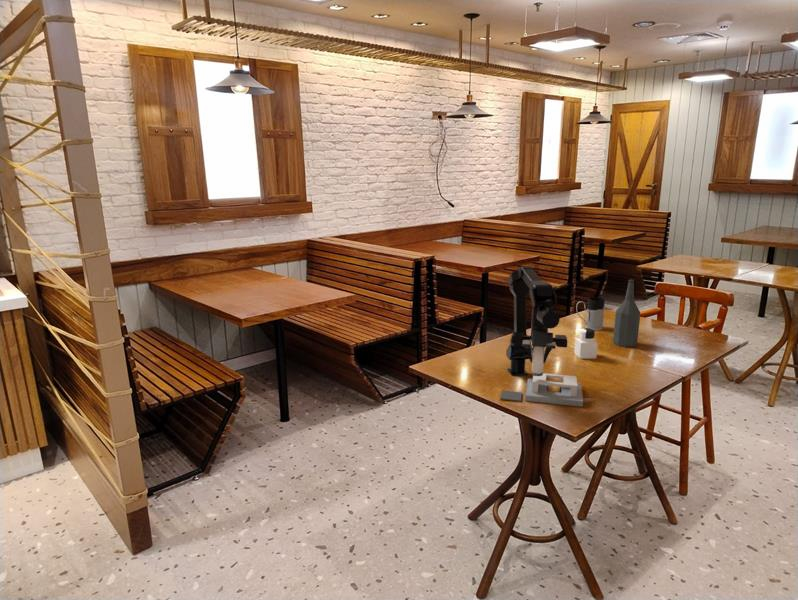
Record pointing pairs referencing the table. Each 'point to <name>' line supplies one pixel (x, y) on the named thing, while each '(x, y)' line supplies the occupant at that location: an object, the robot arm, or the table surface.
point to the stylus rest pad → (511, 396)
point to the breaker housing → (568, 389)
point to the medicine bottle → (586, 344)
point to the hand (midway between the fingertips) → (537, 362)
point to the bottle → (627, 320)
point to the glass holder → (594, 313)
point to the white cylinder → (537, 361)
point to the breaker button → (554, 389)
